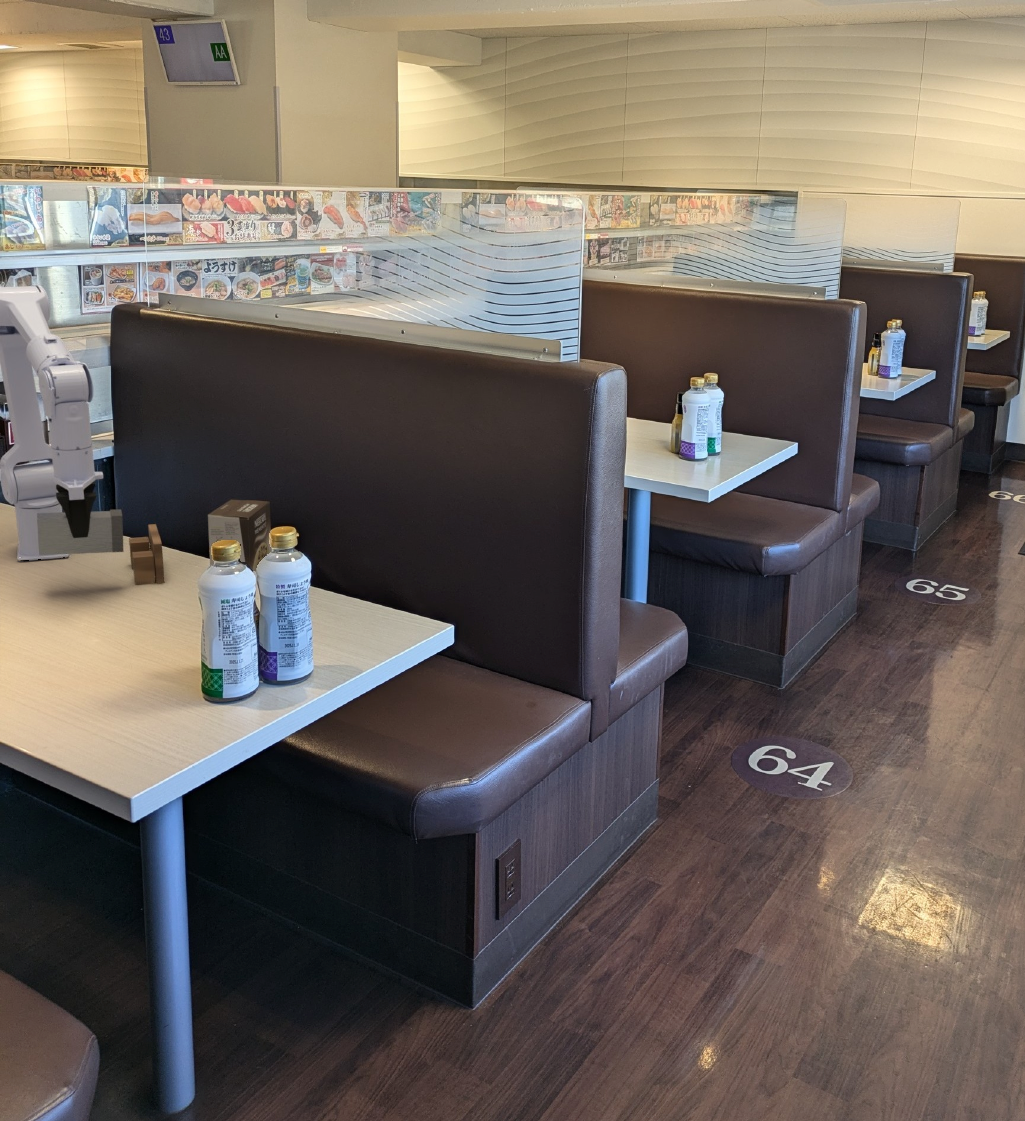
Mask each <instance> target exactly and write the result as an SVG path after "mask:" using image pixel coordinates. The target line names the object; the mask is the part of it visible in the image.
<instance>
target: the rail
mask: <svg viewBox="0 0 1025 1121" xmlns="http://www.w3.org/2000/svg"><path fill="white" fill-rule="evenodd" d="M123 525H124V524H123V513H122V509H109V510H106V511H104V510H103V511H102V510H101V511H91V515H90V526H89V533H88V537H83V538H73V536H72V534H71V531H70V527H69V524H68V520H67V517H66V514H65V512H64V511H62V513H37V527H38V544H39V555H59V554H69V555H77V554H83V555H84V554H99V553H101V554H102V553H106V554H107V553H124V528H123V527H124V526H123Z"/></svg>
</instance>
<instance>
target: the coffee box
mask: <svg viewBox="0 0 1025 1121" xmlns="http://www.w3.org/2000/svg"><path fill="white" fill-rule="evenodd" d="M270 506H271V503H270V501H267V500H266V501H265V500H264V501H263V500H253V499H252V500H249V499H246V500H245V499H243V500H241V499H230V500H228V501H226V502H225V503H224V504H222V505H220V506H219V507H217V508H216V509H214V510H213V511H212V512H209V513H208V514H207V522H208V523H207V526H208V527H207V528H208V529H207V531H208V547H209V567H210V566H211V565H213V564H214V561H213V560H212V555H211V546H212V544H213V543H215V542H217V541H221V540H236V541H238V542H239V543H240V544H241V555H240V561H241V562H247V563H248V565H249V566H250V568H251V569H252V570H253V571H256V568H257V565H258V564H259V562H260V561H261V560H262V559H263V558H264V557H265V556H267V554H269V553H270V552H271V553H272V546H271V547H270V544H269V533H270V531H271V528H272V527H271V508H270ZM271 532H272V531H271Z"/></svg>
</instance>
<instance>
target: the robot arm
mask: <svg viewBox="0 0 1025 1121" xmlns="http://www.w3.org/2000/svg"><path fill="white" fill-rule="evenodd" d="M50 318H51V306H50V298H49V296H48V293H47V290H45V288H44V287H43V286H42V285H40V284H38V285H37V284H35V285H29V286H28V285H27V286H26V285H25V286H0V370H1V377H2V381H3V386H4V387H3V388H4V392H5V393H4V394H5V398H6V403H7V408H8V409H7V410H8V416H9V420H10V426H11V427H10V428H11V431H12V437H13V443H14V444H13V446H11V448H10V449H9V450H8V451H7V452H5V454H4V455H2V457H1V458H0V486H1V491H2V494H3V497H4V499H5V501H6V502H8V503H9V504H10V505H14V509H15V510H14V511H15V518H16V520H15V521H16V527H17V535H18V537H17V538H18V543H19V545H18V544H17V554H16V560H29V561H38V559H41V560H50V559H51V560H52V559H60V558H61V559H64V558H63V557H65V558H69V557H70V554H59V555H39V544H38V527H37V513H62V512H65V514H66V517H67V520H68V524H69V527H70V531H71V534H72V536H73V538H83V537H88V533H89V526H90V515H91V512H92V509H93V506H94V503H95V501H96V499H97V492H96V491H95V488H96V482H95V481H96V480H103V479H104V473H103V471H96V470H95V461H94V460H95V459H94V450H93V441H92V440H93V439H92V428H91V418H90V407H89V406H90V405H89V403H91V402H92V401H93V398H94V383H93V382H94V381H93V377H92V374H91V371H90V369H89V366H88V365H87V363H86V362H81V361H80V360H75V358H74V357H73V355H72V354H71V352H70V350H69V349H68V347H67V345H66V343H65V342H64V340H63V339H62V338H61V337H60V336H59V335H56V334H53V333H52V332H51V329H50V327H49V325H48V323H49V320H50ZM33 371H34V372H35V373H36V375H37V377H38V388H39V392H40V396H41V399H42V404H43V411H44V415H45V416H46V417H47V420H48V429H49V437H50V438H49V439H50V444H49V443H47V442H46V439H45V434H44V427H43V423H42V416H41V412H40V405H39V400H38V393H37V389H36V381H35V378H34V377H35V376H34V372H33ZM41 460H42V461H43V462H37V463H29V464H21V465H17V464H18V463H23V462H32V461H41ZM44 460H45V461H46V462H44ZM94 491H95V492H94ZM19 557H21V558H19Z"/></svg>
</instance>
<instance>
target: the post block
mask: <svg viewBox="0 0 1025 1121" xmlns="http://www.w3.org/2000/svg"><path fill="white" fill-rule="evenodd" d="M147 528H148V536H142V537H131V538H130V537H129V538H128V543H129V553H130V556H129V557H130V565H131V570H133V578H134V583H135V584H134V585H146V584H164V583H165V581H166V580H165V570H164V569H165V568H164V556H163V555H164V554H163V553H164V552H163V544H162V540H161V536H160V533H159V530H158V527H157V524H156V523H155V524H153V523H152V524H151V523H150V524H148V525H147Z"/></svg>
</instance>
